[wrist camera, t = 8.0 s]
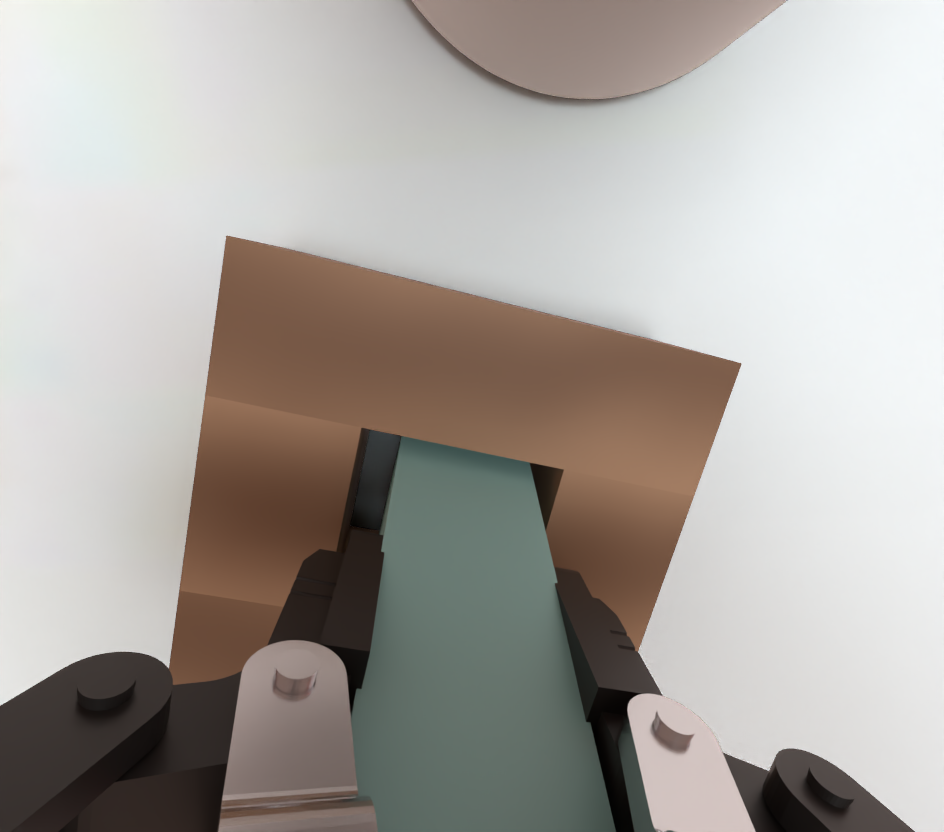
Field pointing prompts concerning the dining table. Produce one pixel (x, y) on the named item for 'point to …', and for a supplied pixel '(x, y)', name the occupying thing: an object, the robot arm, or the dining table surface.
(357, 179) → the dining table surface
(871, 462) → the dining table surface
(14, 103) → the dining table surface
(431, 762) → the long pin
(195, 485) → the socket block
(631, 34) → the cylinder vase
